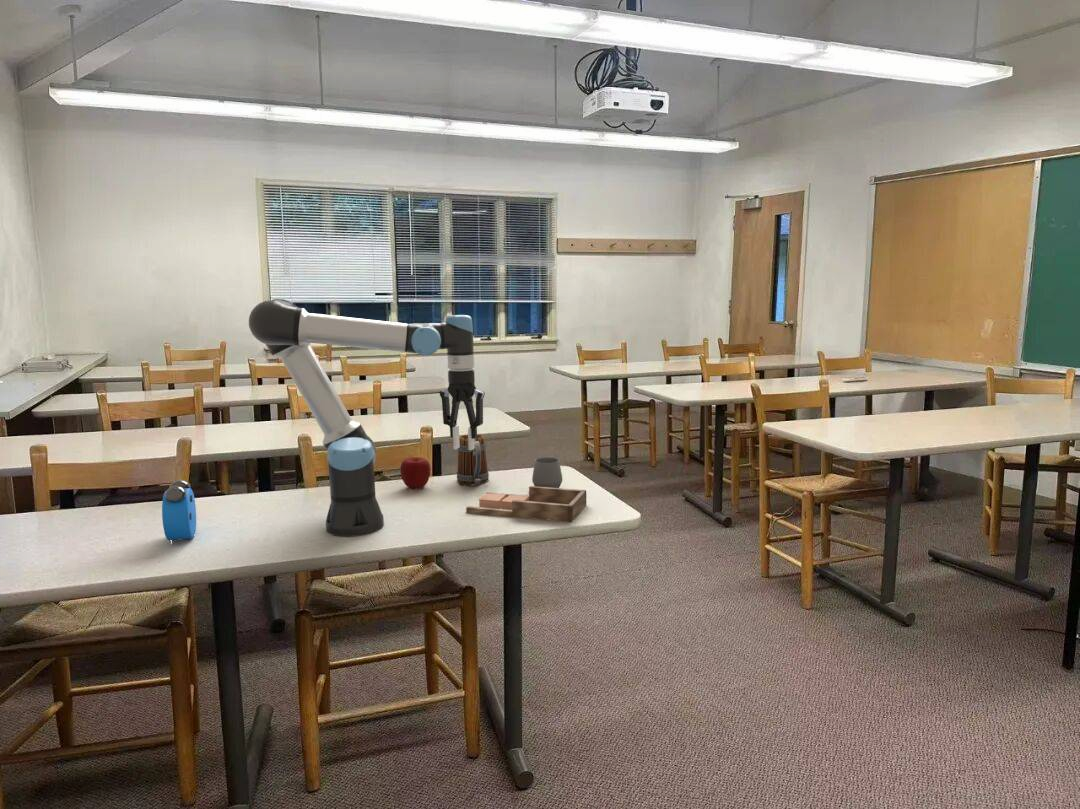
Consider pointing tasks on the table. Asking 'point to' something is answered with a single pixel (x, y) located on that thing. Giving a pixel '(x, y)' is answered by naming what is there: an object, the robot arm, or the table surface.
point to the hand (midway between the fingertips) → (464, 448)
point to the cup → (547, 472)
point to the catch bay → (542, 504)
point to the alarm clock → (179, 511)
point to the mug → (472, 462)
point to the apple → (415, 472)
